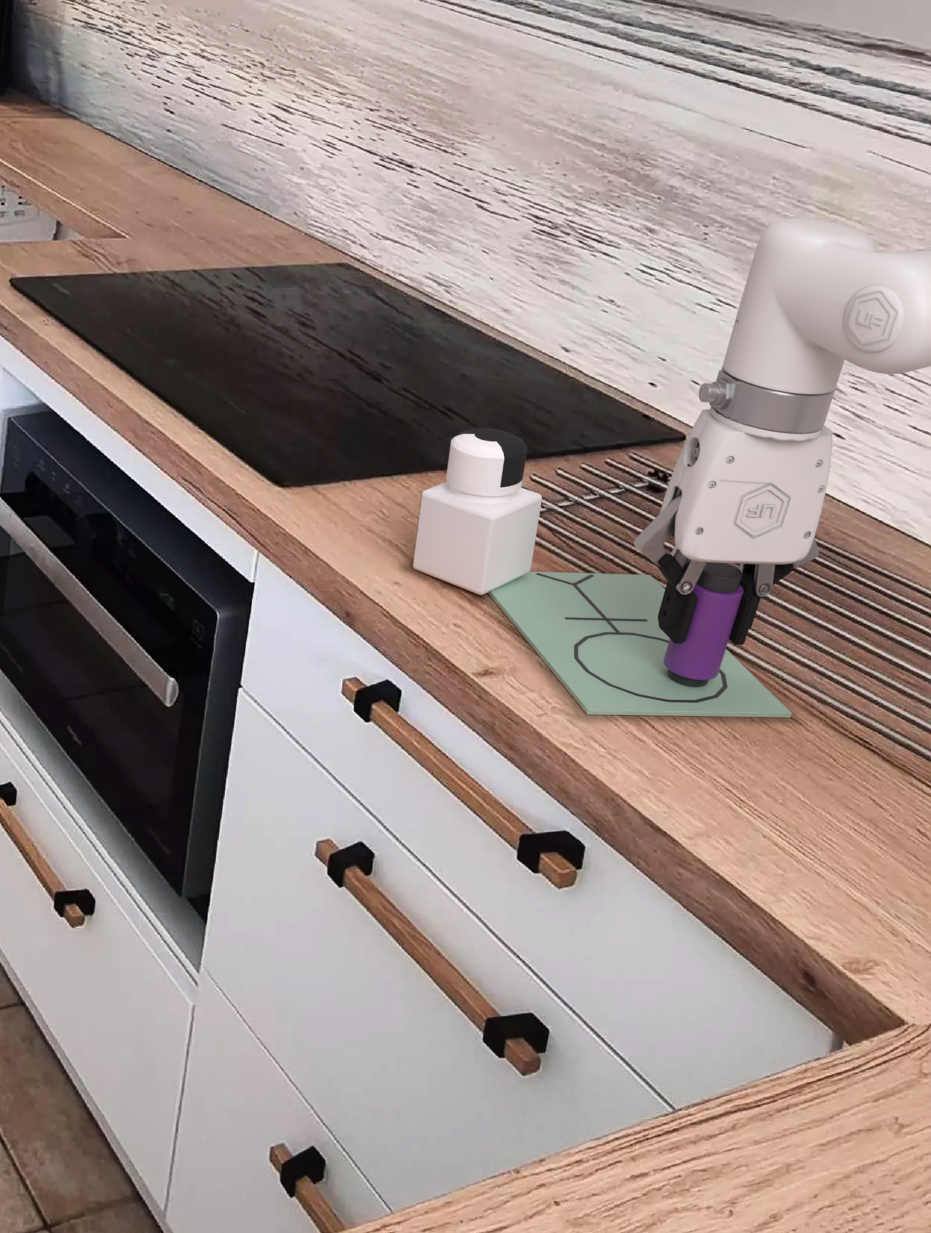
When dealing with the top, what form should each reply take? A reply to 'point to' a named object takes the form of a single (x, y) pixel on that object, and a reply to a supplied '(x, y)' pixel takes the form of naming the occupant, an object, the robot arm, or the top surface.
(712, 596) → the cylinder
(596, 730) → the top surface
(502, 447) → the medicine bottle
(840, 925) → the top surface
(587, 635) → the sketch card
